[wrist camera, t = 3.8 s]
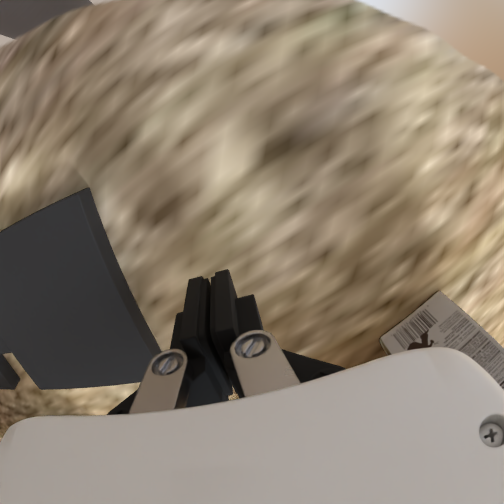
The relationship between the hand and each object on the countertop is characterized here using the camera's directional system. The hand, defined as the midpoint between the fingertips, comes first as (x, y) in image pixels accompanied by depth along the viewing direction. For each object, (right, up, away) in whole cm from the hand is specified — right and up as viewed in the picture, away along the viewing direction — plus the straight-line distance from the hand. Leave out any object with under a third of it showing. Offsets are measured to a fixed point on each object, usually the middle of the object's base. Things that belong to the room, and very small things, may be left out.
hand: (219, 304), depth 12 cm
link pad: (-13, -2, +3) cm, 13 cm away
